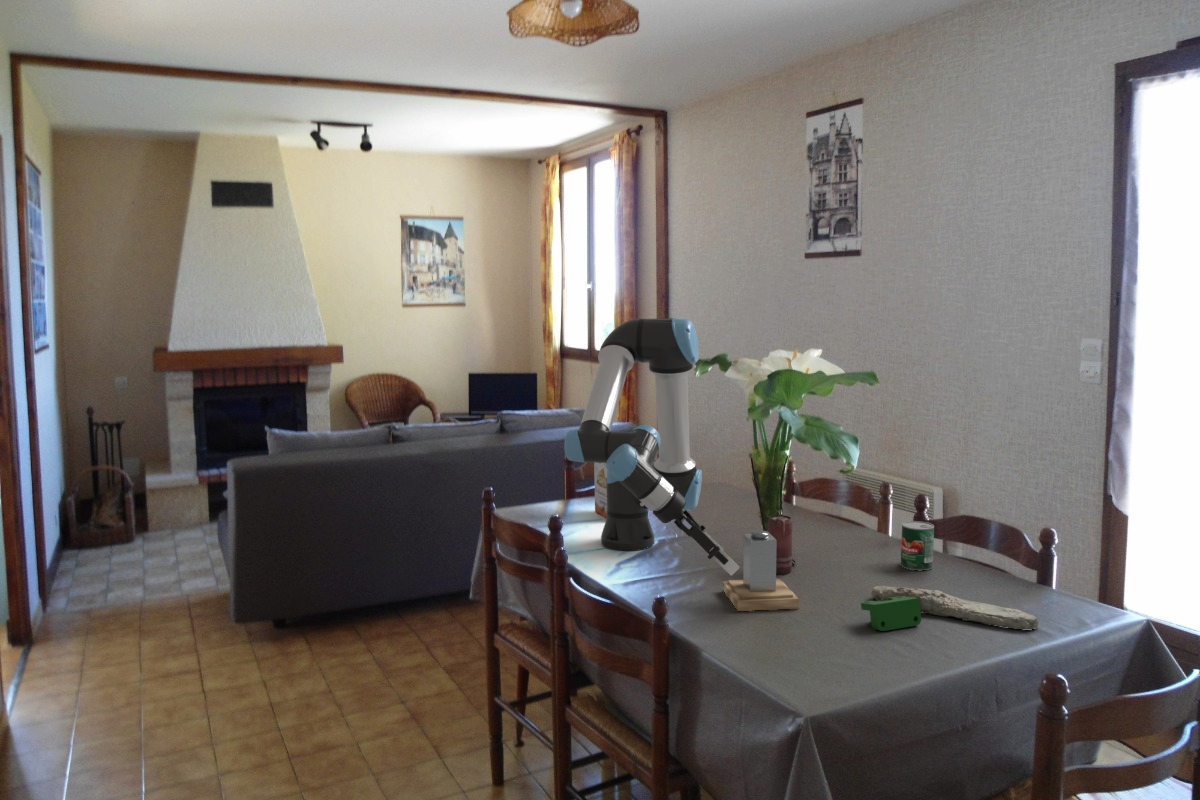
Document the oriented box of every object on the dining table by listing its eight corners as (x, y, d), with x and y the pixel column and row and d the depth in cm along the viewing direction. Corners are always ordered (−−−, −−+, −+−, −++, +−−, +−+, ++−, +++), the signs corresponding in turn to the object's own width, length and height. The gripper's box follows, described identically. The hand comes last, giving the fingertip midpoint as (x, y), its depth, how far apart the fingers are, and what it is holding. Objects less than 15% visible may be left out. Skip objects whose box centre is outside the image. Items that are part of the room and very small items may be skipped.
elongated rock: (1032, 644, 185) (1039, 631, 193) (1035, 619, 184) (1042, 608, 192) (864, 603, 204) (878, 593, 212) (866, 580, 204) (880, 571, 212)
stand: (722, 591, 214) (722, 579, 214) (779, 588, 216) (780, 576, 215) (737, 612, 200) (737, 599, 200) (798, 609, 202) (798, 596, 201)
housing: (743, 583, 210) (743, 529, 209) (768, 582, 211) (769, 528, 209) (750, 592, 204) (750, 536, 203) (775, 591, 205) (776, 535, 203)
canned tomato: (897, 568, 230) (899, 526, 229) (903, 560, 237) (904, 519, 236) (930, 572, 226) (932, 530, 225) (934, 564, 233) (936, 523, 232)
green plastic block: (898, 639, 195) (907, 598, 198) (916, 642, 190) (925, 600, 192) (853, 623, 192) (862, 582, 194) (870, 626, 187) (879, 584, 189)
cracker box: (593, 512, 290) (592, 448, 288) (610, 510, 293) (609, 447, 290) (612, 522, 278) (611, 456, 275) (629, 520, 280) (629, 454, 278)
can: (774, 575, 225) (775, 521, 223) (763, 568, 231) (763, 515, 229) (796, 573, 227) (797, 519, 225) (784, 566, 233) (785, 513, 231)
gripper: (642, 499, 215) (703, 557, 218) (662, 526, 190) (730, 591, 194) (664, 476, 215) (724, 535, 218) (686, 501, 190) (754, 566, 194)
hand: (727, 562), depth 206 cm, fingers open, 13 cm apart
